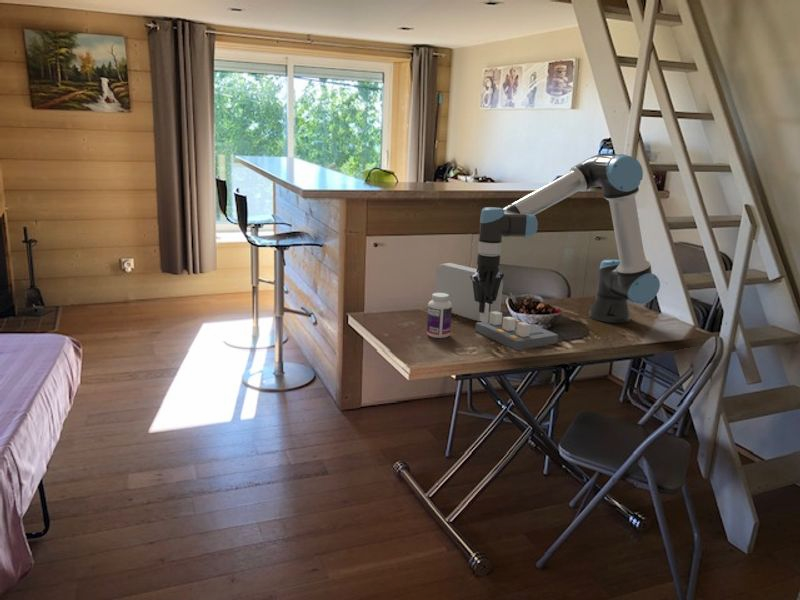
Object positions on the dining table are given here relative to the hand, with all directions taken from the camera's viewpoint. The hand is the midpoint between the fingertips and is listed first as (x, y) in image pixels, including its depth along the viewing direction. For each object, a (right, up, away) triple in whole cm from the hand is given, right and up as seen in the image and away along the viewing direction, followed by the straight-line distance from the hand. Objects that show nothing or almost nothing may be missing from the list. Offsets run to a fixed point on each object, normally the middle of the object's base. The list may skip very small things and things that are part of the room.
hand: (483, 321), depth 217 cm
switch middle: (+8, -3, -3) cm, 9 cm away
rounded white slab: (-4, +1, +24) cm, 24 cm away
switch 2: (+12, -4, -8) cm, 15 cm away
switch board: (+11, -5, 0) cm, 12 cm away
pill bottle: (-16, -5, -2) cm, 17 cm away
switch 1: (+5, -1, +3) cm, 6 cm away
